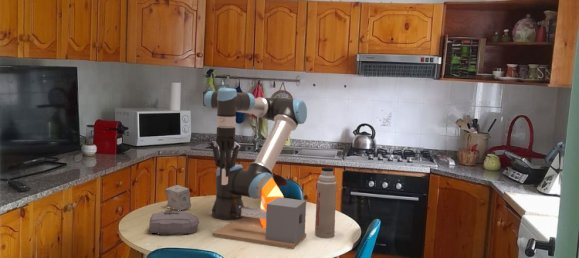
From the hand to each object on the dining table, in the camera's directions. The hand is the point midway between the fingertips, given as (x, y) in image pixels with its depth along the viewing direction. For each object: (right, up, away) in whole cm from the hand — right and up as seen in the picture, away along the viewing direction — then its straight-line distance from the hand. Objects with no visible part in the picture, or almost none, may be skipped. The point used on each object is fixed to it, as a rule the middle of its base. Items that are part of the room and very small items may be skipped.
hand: (224, 184), depth 216 cm
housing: (+14, -21, -3) cm, 26 cm away
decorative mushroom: (+19, -15, +48) cm, 54 cm away
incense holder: (-26, -15, +34) cm, 46 cm away
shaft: (+14, -14, -3) cm, 20 cm away
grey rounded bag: (-21, -20, +1) cm, 28 cm away
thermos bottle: (+41, -21, +2) cm, 46 cm away
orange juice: (+18, -19, +13) cm, 29 cm away
